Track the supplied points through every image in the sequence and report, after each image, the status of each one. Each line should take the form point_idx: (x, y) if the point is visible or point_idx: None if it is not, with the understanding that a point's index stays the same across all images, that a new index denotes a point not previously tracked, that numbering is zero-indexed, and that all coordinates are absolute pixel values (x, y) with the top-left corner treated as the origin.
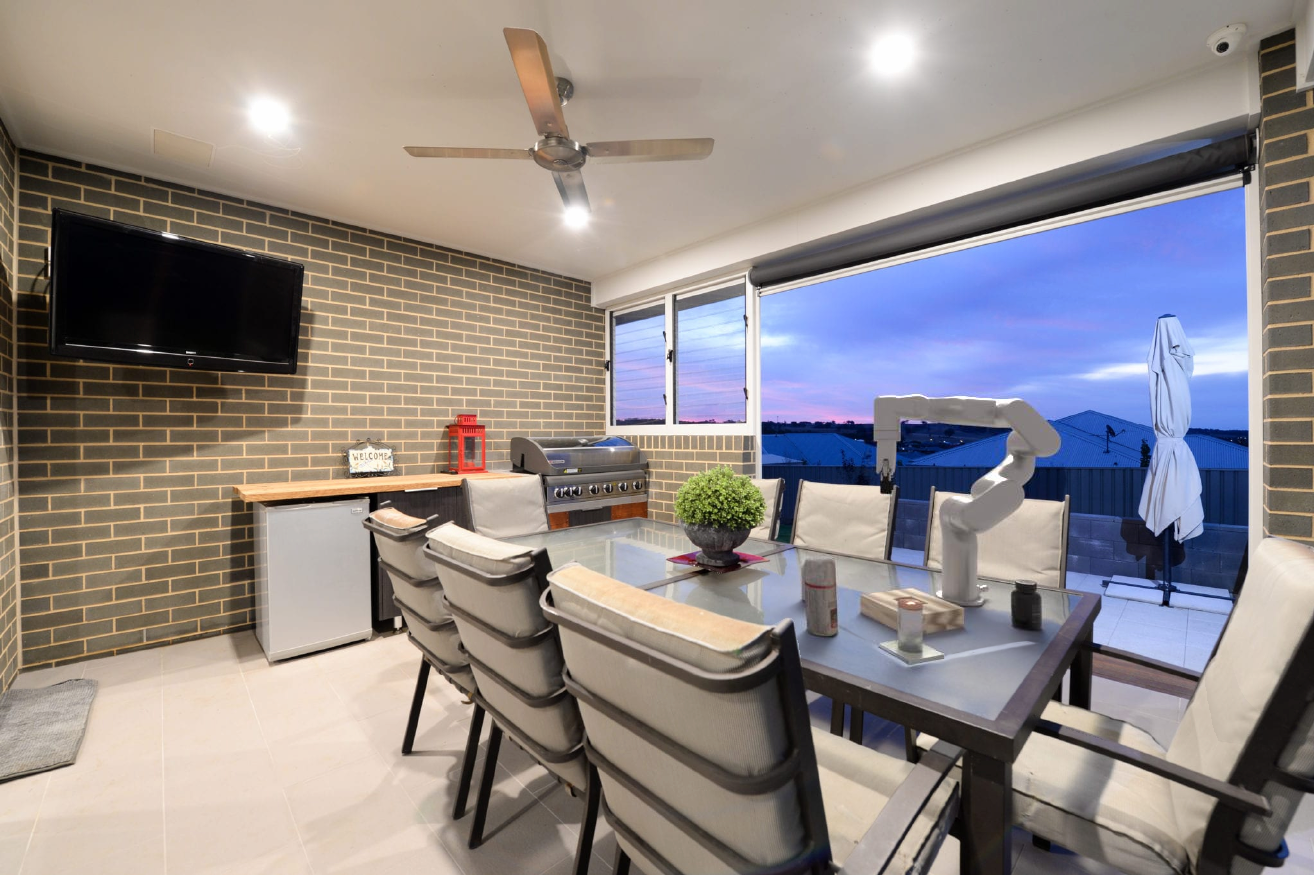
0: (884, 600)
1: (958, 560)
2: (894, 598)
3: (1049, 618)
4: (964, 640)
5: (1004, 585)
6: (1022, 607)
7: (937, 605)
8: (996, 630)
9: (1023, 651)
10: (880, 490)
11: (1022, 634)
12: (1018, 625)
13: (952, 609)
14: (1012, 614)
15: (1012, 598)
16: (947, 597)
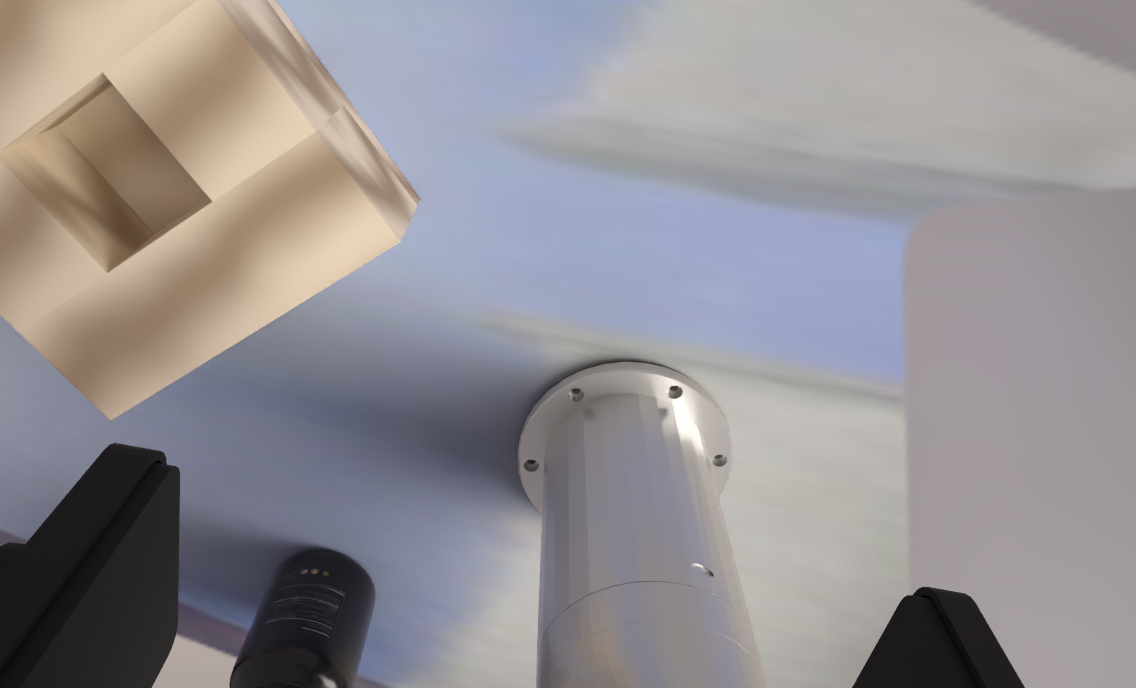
0: (38, 12)
1: (544, 596)
2: (119, 90)
3: (453, 676)
4: None
5: None
6: (248, 634)
7: (92, 309)
8: (230, 480)
9: (27, 499)
10: (80, 492)
11: (223, 549)
12: (283, 565)
13: (57, 365)
14: (300, 581)
15: (277, 636)
16: (580, 407)
